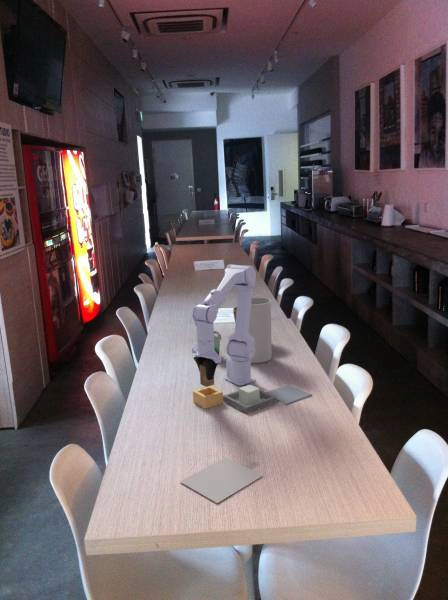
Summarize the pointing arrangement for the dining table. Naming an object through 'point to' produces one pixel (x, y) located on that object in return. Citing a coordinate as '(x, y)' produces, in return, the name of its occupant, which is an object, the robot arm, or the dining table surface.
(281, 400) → the slate mat
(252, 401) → the block
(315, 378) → the dining table surface
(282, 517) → the dining table surface
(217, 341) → the food container
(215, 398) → the socket
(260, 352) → the cylinder vase
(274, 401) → the grey square frame
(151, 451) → the dining table surface
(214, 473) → the grey square panel
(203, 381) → the rod
